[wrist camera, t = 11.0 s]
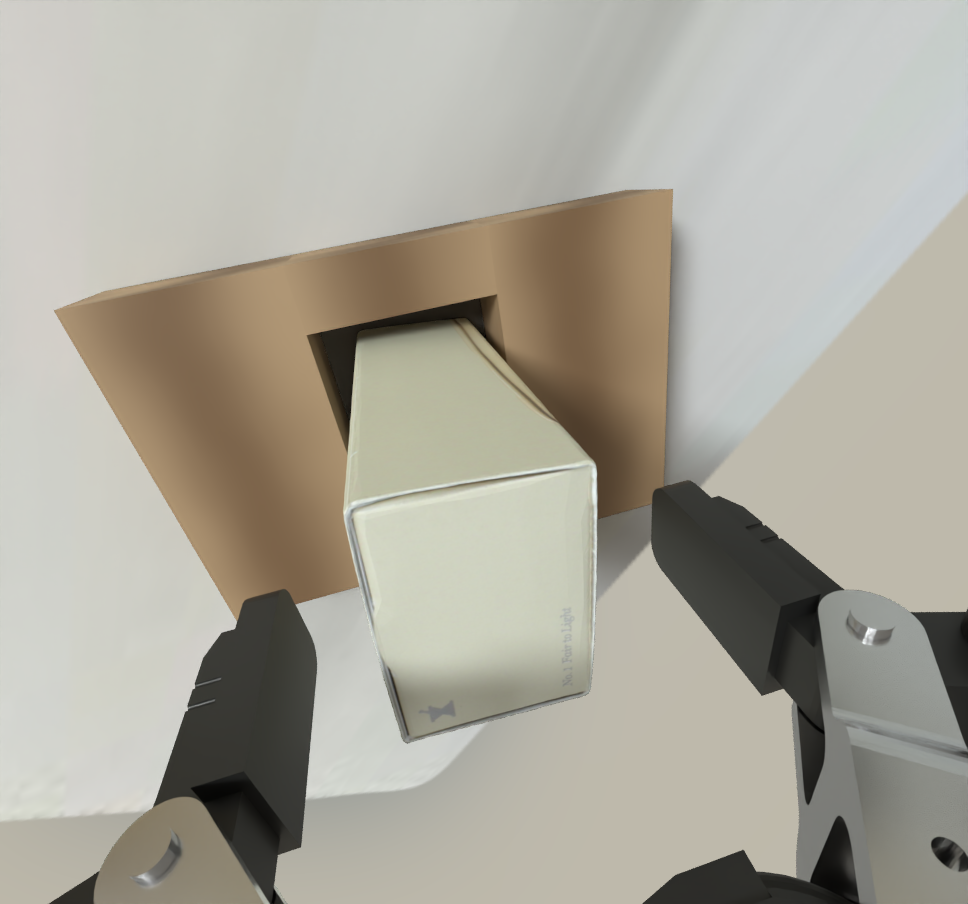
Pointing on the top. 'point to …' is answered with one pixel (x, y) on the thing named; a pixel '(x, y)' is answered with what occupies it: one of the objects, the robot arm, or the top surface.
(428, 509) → the skincare box
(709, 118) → the top surface
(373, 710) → the top surface
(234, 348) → the board
